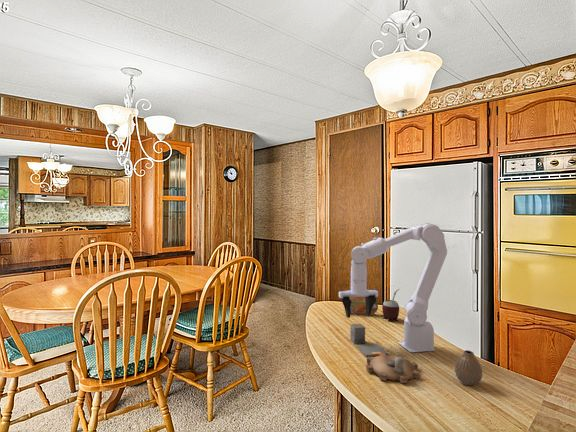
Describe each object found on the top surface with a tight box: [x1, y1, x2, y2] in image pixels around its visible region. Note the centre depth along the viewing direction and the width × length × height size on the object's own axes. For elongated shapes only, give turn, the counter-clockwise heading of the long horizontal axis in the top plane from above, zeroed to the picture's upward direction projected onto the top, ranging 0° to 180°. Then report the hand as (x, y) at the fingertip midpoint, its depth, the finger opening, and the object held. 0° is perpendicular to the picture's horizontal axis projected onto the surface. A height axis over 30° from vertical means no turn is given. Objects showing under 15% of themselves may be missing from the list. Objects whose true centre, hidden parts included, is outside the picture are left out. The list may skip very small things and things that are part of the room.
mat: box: [356, 343, 390, 358], centre depth 116 cm, size 8×8×1 cm
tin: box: [349, 297, 379, 316], centre depth 155 cm, size 15×3×8 cm, turn 81°
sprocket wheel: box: [366, 354, 421, 384], centre depth 102 cm, size 16×16×5 cm
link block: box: [350, 323, 366, 345], centre depth 123 cm, size 4×4×6 cm
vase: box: [454, 349, 483, 387], centre depth 96 cm, size 7×7×9 cm
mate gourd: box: [382, 288, 400, 323], centre depth 147 cm, size 8×8×15 cm
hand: (358, 316), depth 123 cm, fingers open, 7 cm apart
